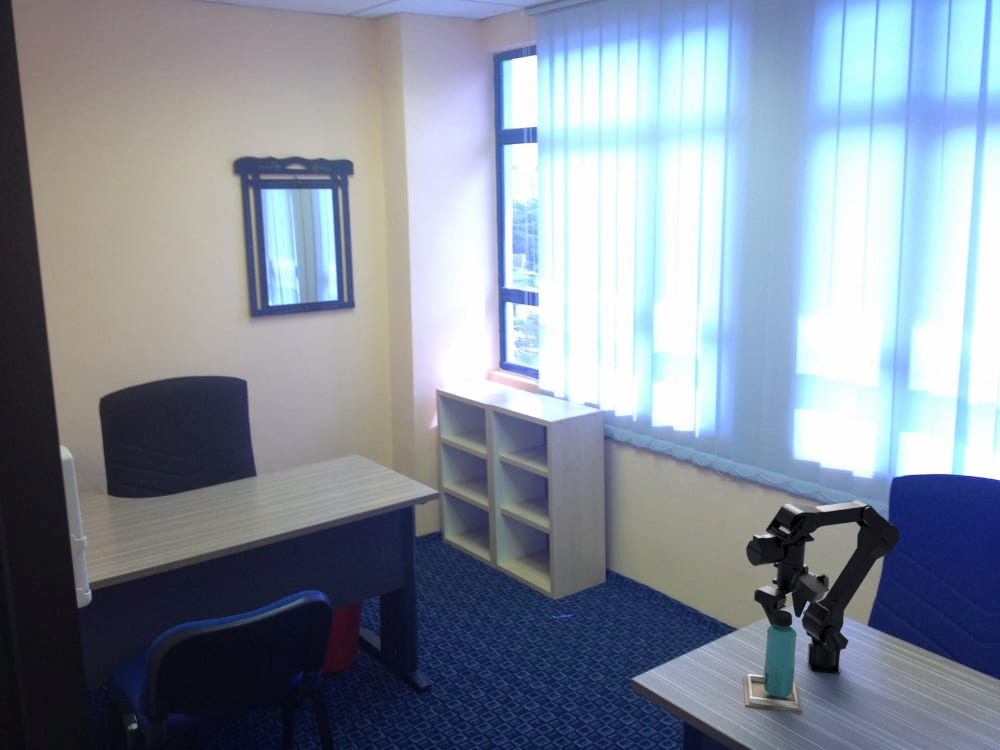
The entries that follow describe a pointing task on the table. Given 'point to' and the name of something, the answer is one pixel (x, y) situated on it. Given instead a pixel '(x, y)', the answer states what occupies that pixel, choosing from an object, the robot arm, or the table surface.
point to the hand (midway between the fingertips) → (786, 622)
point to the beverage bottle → (780, 655)
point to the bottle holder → (769, 696)
